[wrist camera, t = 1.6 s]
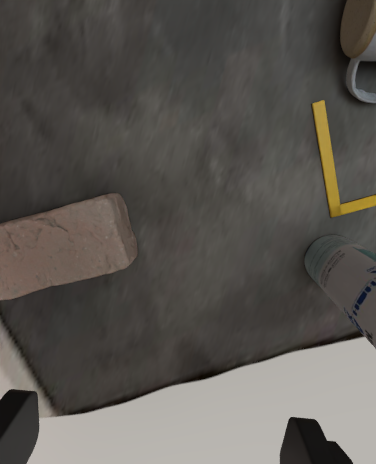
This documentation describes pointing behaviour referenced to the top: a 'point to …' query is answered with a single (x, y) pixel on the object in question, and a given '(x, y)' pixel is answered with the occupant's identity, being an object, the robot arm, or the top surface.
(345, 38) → the ceramic mug
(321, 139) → the tape outline
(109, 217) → the brick
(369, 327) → the spray paint can
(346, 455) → the robot arm
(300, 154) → the top surface
